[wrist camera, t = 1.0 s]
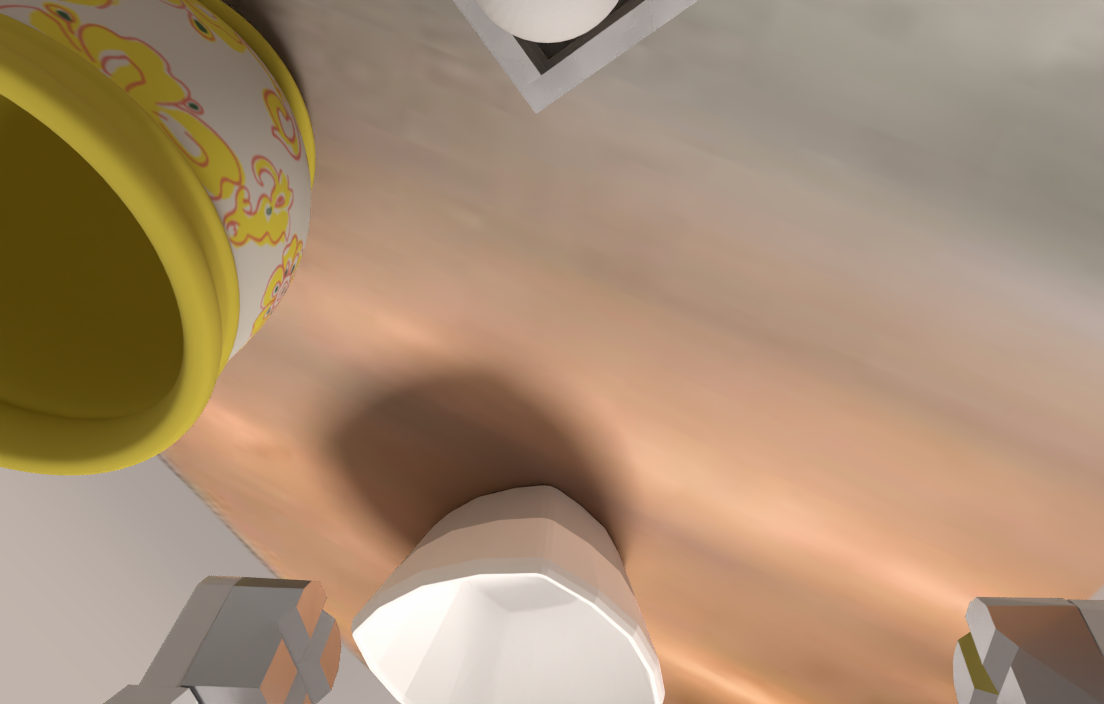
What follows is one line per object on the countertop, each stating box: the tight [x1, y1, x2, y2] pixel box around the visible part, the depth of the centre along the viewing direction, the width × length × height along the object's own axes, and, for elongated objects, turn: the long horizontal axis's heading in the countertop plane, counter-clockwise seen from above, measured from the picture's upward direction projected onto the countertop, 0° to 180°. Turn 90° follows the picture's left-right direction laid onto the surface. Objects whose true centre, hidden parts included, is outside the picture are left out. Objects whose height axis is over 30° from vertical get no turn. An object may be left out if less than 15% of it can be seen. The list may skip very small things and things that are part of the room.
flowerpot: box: [0, 0, 316, 475], centre depth 34 cm, size 18×18×16 cm
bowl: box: [351, 485, 665, 704], centre depth 52 cm, size 18×18×9 cm
